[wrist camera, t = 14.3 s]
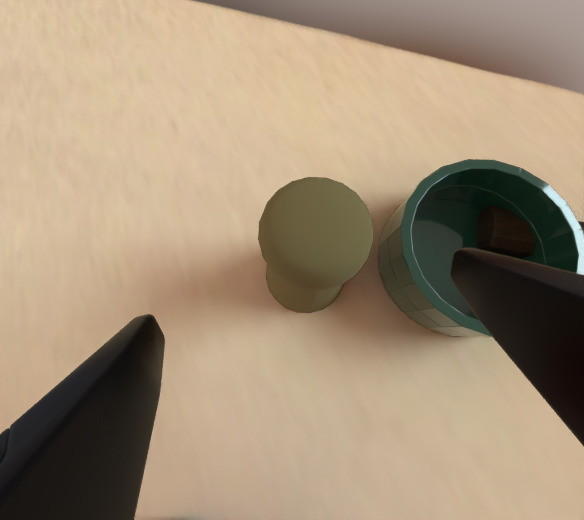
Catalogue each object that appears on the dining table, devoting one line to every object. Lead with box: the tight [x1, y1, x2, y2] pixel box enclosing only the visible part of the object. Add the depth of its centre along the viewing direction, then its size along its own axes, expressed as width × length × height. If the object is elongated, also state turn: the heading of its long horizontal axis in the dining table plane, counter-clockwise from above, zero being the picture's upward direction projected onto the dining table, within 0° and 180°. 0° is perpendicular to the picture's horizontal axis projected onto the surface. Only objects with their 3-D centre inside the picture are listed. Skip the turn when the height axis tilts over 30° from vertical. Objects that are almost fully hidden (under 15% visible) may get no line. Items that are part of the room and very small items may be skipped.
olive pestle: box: [258, 177, 373, 313], centre depth 17 cm, size 6×6×11 cm
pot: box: [378, 159, 584, 337], centre depth 20 cm, size 11×11×5 cm
